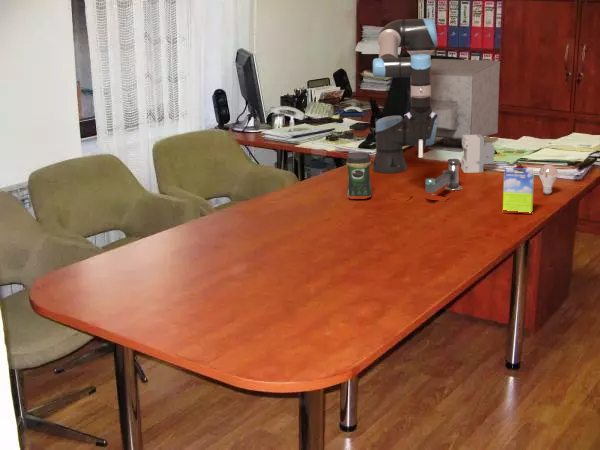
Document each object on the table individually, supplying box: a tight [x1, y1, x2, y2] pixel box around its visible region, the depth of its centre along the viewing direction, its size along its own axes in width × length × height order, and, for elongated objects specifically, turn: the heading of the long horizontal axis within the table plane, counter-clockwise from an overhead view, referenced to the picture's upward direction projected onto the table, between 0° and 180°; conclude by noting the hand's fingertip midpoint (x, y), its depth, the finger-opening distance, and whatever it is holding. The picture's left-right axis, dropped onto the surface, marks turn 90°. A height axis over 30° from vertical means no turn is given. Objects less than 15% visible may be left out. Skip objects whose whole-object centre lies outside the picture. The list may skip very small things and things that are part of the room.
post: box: [444, 158, 463, 190], centre depth 332 cm, size 7×7×12 cm
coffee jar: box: [346, 151, 373, 196], centre depth 325 cm, size 10×8×19 cm
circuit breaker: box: [460, 134, 498, 174], centre depth 358 cm, size 8×14×15 cm, turn 89°
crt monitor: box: [427, 58, 501, 153], centre depth 397 cm, size 35×37×40 cm
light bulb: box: [538, 164, 559, 196], centre depth 319 cm, size 7×7×12 cm
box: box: [502, 167, 535, 213], centre depth 298 cm, size 10×4×17 cm, turn 72°
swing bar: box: [425, 169, 457, 194], centre depth 321 cm, size 22×5×6 cm, turn 148°
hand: (420, 156), depth 320 cm, fingers closed
